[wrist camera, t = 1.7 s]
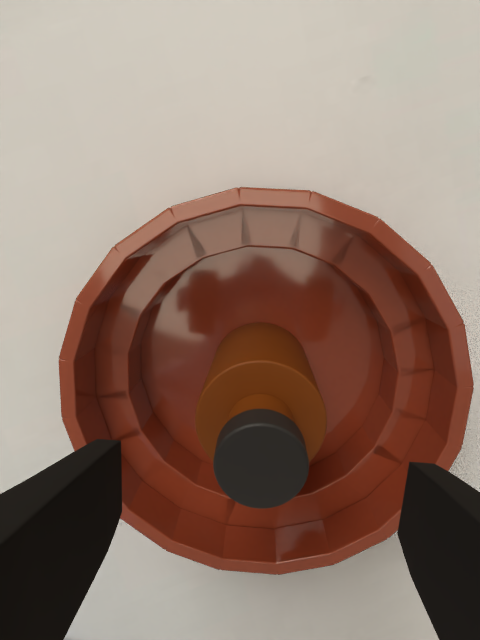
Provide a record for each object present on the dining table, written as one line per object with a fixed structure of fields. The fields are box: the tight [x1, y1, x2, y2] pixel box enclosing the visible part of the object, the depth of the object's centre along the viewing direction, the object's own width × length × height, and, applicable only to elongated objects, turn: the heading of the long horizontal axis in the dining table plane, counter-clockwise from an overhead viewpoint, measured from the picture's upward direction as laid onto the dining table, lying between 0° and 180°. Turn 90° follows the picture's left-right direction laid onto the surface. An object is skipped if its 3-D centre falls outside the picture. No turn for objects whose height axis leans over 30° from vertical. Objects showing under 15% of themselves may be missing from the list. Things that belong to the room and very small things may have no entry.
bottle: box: [195, 322, 327, 509], centre depth 14 cm, size 4×4×8 cm
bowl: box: [59, 187, 474, 575], centre depth 17 cm, size 15×15×4 cm
